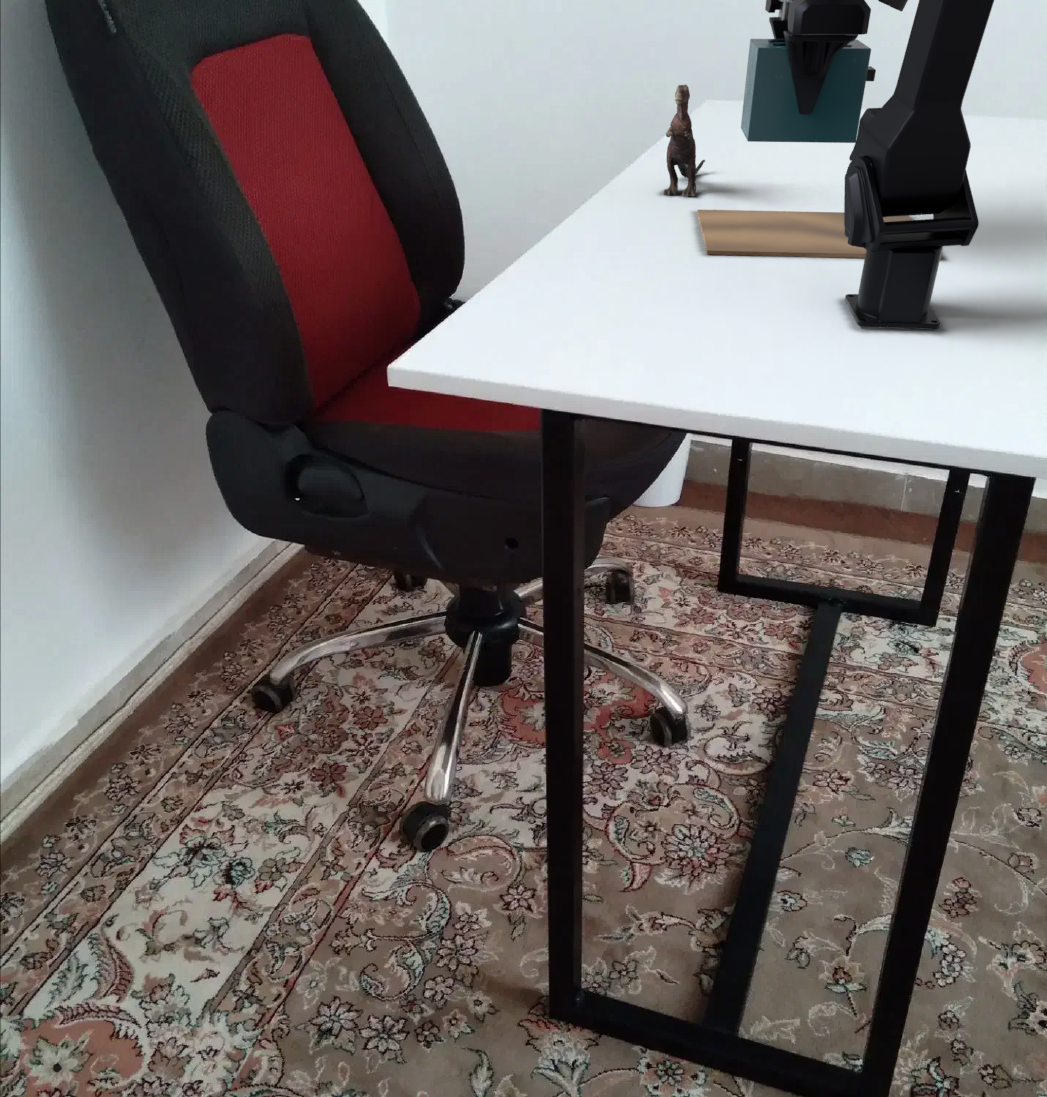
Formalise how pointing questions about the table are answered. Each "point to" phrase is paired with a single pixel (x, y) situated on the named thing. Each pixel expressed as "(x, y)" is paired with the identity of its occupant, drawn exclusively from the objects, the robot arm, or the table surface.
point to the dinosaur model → (682, 146)
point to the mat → (778, 233)
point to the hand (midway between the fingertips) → (800, 107)
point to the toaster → (775, 100)
